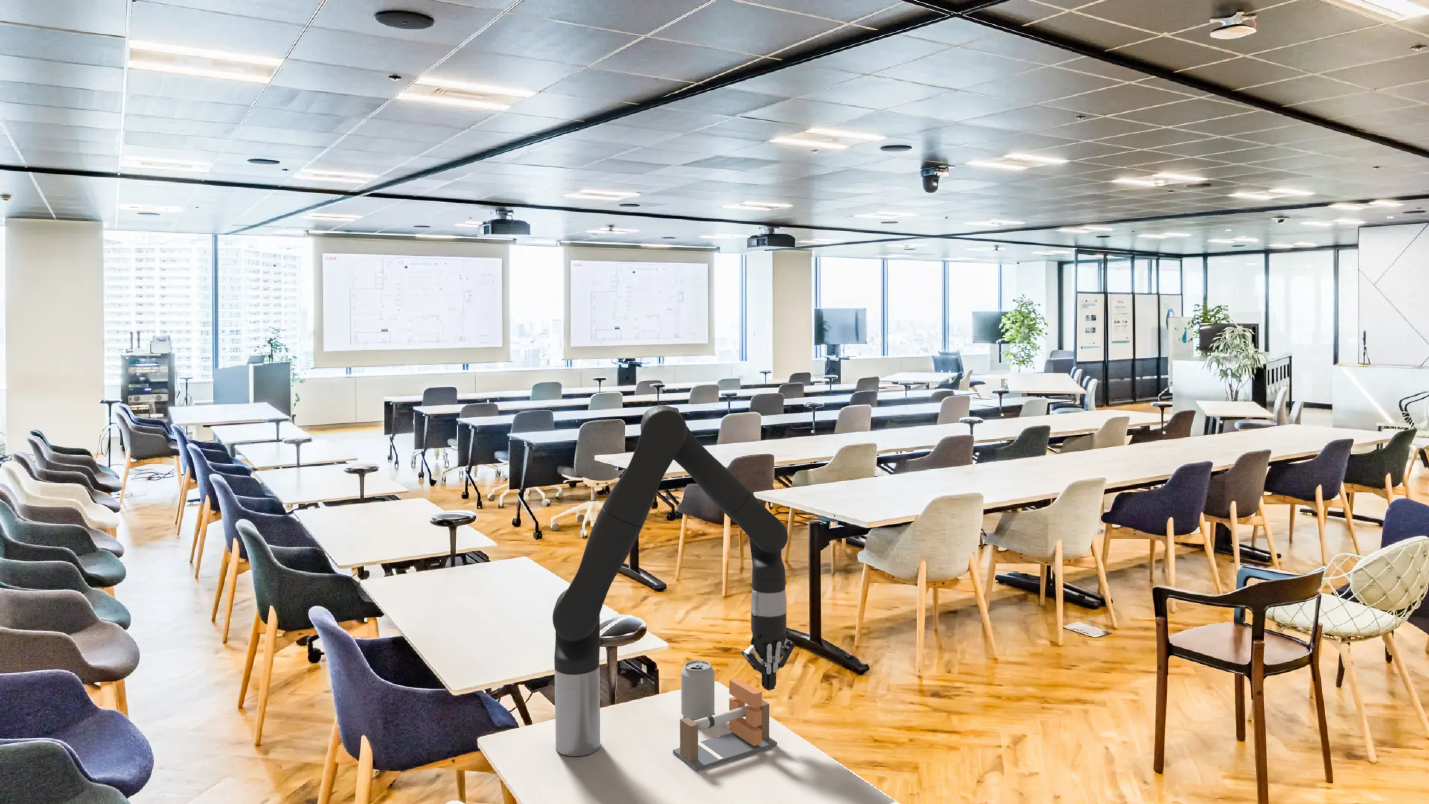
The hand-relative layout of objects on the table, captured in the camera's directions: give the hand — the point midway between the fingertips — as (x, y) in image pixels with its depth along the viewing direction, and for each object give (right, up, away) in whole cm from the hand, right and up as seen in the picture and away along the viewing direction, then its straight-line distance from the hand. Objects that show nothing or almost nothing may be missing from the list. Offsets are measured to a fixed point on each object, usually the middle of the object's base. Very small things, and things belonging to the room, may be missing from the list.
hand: (768, 688), depth 194 cm
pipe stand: (-9, -11, -5) cm, 15 cm away
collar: (-5, -9, -2) cm, 11 cm away
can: (-15, -10, +11) cm, 21 cm away
